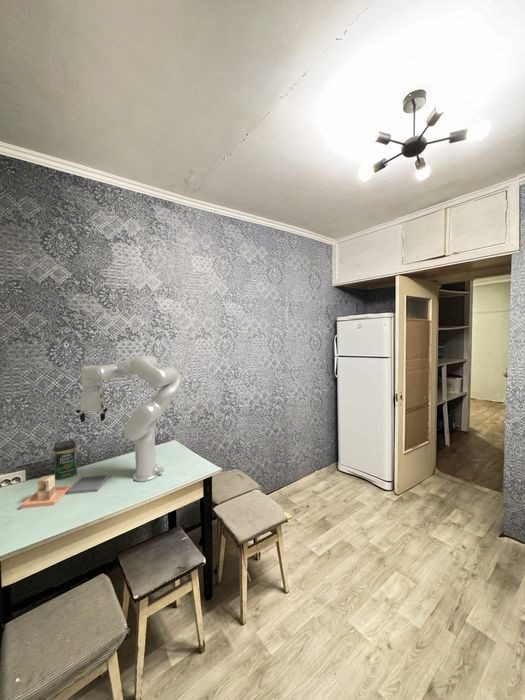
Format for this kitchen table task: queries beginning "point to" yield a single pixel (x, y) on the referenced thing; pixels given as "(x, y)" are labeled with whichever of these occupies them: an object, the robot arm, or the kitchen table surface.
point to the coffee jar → (65, 459)
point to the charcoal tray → (88, 484)
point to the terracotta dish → (35, 502)
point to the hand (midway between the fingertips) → (92, 421)
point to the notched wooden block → (46, 488)
